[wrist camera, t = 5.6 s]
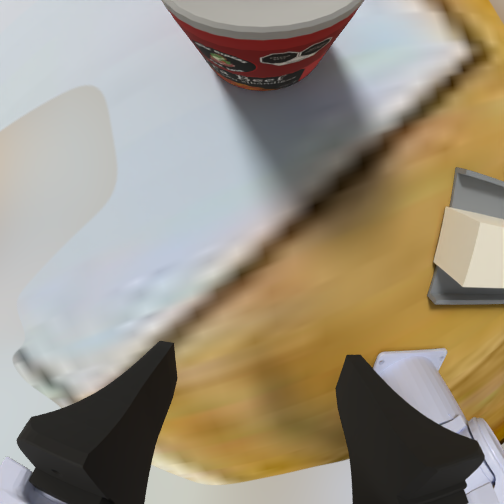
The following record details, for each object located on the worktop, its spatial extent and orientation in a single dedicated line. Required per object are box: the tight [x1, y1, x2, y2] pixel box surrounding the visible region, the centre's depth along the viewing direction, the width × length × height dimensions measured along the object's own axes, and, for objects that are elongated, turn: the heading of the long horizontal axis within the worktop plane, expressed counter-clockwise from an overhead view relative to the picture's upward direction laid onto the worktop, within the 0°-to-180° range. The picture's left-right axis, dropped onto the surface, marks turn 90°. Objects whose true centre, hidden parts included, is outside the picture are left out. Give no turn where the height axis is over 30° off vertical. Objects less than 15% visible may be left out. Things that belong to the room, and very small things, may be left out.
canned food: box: [162, 0, 364, 91], centre depth 11 cm, size 8×8×11 cm
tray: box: [427, 167, 504, 304], centre depth 19 cm, size 11×12×2 cm
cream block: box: [433, 207, 504, 288], centre depth 17 cm, size 4×4×9 cm
